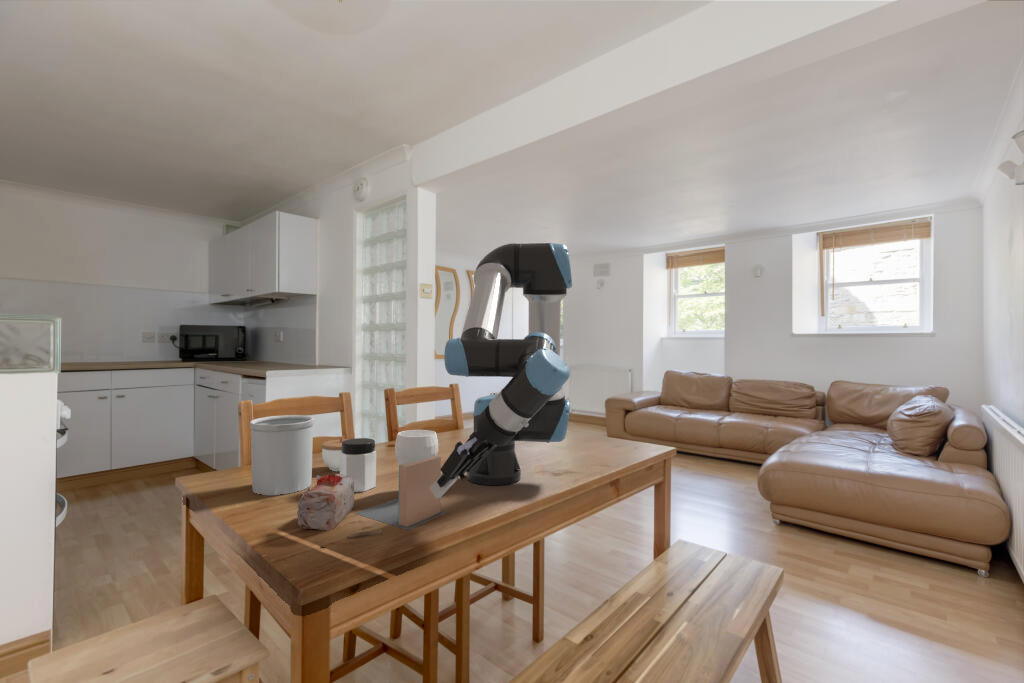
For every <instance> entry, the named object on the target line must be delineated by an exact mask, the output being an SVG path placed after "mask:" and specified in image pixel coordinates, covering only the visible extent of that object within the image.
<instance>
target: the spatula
mask: <svg viewBox="0 0 1024 683" xmlns="http://www.w3.org/2000/svg"><path fill="white" fill-rule="evenodd" d="M378 535H379V536H381V535H383V530H382V529H381V528H380V529H373V530H368V531H361V532H359V531H358V532H354V533H349V534H348V539H349V540H352V539H358V538H366V537H367V538H368V537H372V536H378ZM319 546H320V547H319V548H320V550H321V548H323V549H326V547H325V546H323V545H319Z"/></svg>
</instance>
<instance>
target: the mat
mask: <svg viewBox="0 0 1024 683" xmlns="http://www.w3.org/2000/svg"><path fill="white" fill-rule="evenodd" d="M447 513H448V514H449V512H448V511H445V510H443V509H442V510H441V509H440V513H437V514H435V515H433V516H430V517H428V518H426V519H423V520H421V521H419V522H416V523H414V524H412V525H410V526H407V527H406V526H402V525H399V524H398V498H393V499H391V500H389V501H385V502H383V503H379V504H377V505H374V506H371V507H369V508H366V509H363V510H360V511H357V512H355V513H354V514H356V515H357V516H361V517H364V518H368V519H371V520H375V521H377V522H380V523H384V524H387V525H390V526H393V527H397V528H400V529H403V530H406V531H410V530H412V529H414V528H416V527H418V526H421V525H423V524H425V523H427V522H429V521H431V520H434V519H437V518H438V517H441V516H443V515H445V514H447Z"/></svg>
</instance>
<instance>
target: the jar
mask: <svg viewBox="0 0 1024 683" xmlns="http://www.w3.org/2000/svg"><path fill="white" fill-rule="evenodd" d="M347 439H348V440H345V441H343V442H342V451H341V452H340V471H339V474H343V475H348V476H350V477H352V478H354V493H362V492H363V493H364V492H367V491H369V490H371V489H374V488H376V486H377V450H375V449H376V440H375V439H373V438H367V437H363V438H362V437H361V438H357V437H356V438H347Z"/></svg>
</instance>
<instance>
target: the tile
mask: <svg viewBox="0 0 1024 683" xmlns="http://www.w3.org/2000/svg"><path fill="white" fill-rule="evenodd" d="M441 463H442V457H441V456H438V455H437V456H430V457H426V458H422V459H419V460H415V461H412V462H408V463H404V464H401V465H399V464H398V498H397V499H398V524H399V525H402V526H406V527H407V526H410V525H412V524H414V523H416V522H419V521H421V520H423V519H426V518H428V517H430V516H433V515H435V514H437V513H440V510H441V497H440V498H437V499H436V498H435V496H434V495H433V493H432V492H431V490H430V488H429V487H430V486H431V485H432V484H433V483H434V482H435V481H436V480H437V479H438V478H439V476H440V475H441V474H442V471H441V470H440V469H441V468H442V464H441Z"/></svg>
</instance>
